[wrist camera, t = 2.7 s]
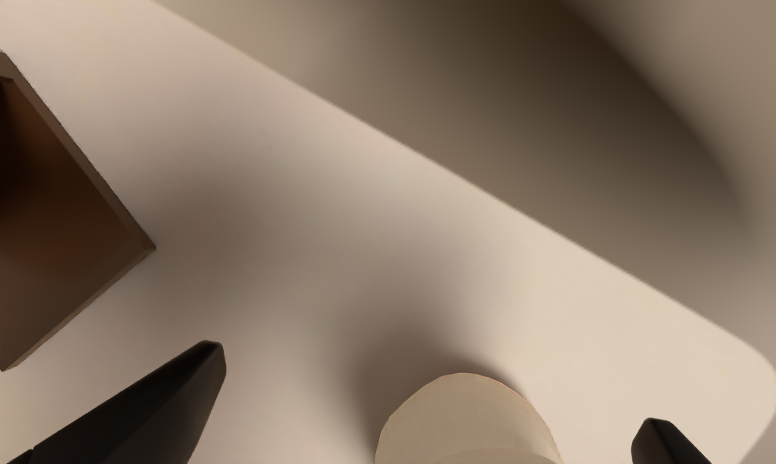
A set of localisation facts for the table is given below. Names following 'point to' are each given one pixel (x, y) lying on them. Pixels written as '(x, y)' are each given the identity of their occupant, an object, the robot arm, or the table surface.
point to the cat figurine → (466, 426)
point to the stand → (52, 224)
